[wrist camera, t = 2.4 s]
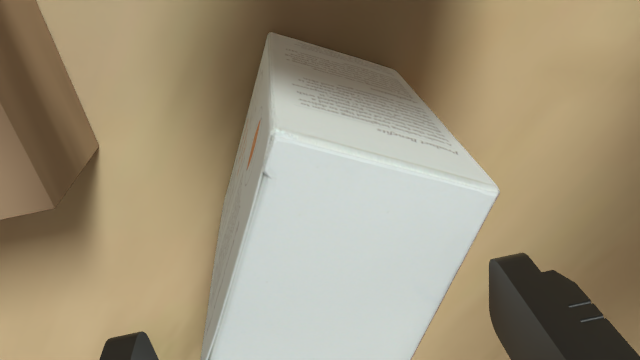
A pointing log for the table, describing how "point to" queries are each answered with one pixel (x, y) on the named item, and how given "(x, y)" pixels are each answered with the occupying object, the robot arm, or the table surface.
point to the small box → (338, 214)
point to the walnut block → (36, 115)
